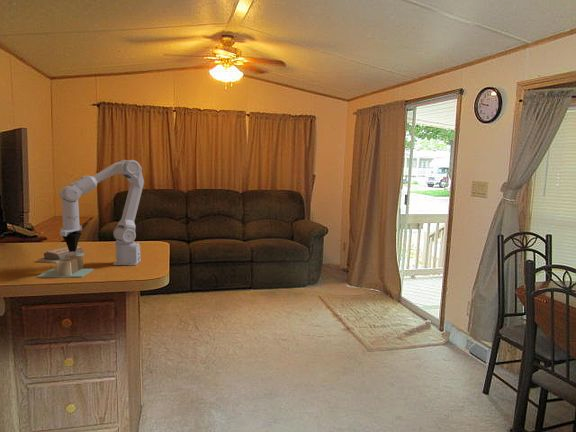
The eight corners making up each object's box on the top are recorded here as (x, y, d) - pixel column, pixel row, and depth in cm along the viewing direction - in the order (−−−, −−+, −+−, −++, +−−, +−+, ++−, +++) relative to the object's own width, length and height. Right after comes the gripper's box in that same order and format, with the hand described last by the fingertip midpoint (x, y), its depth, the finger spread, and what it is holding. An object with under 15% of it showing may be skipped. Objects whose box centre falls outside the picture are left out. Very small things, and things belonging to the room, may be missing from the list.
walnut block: (82, 255, 163) (70, 262, 152) (83, 267, 163) (70, 275, 152) (69, 255, 162) (56, 262, 151) (70, 267, 163) (57, 275, 152)
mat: (93, 269, 162) (93, 268, 162) (81, 277, 151) (81, 276, 151) (52, 269, 161) (51, 268, 161) (37, 277, 150) (37, 276, 150)
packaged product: (67, 244, 190) (86, 245, 188) (68, 254, 191) (86, 255, 189) (36, 251, 173) (57, 253, 171) (37, 262, 173) (57, 264, 171)
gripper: (68, 214, 164) (70, 247, 166) (50, 219, 150) (52, 255, 152) (86, 214, 165) (88, 247, 167) (70, 219, 150) (72, 255, 152)
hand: (72, 251), depth 159 cm, fingers closed
